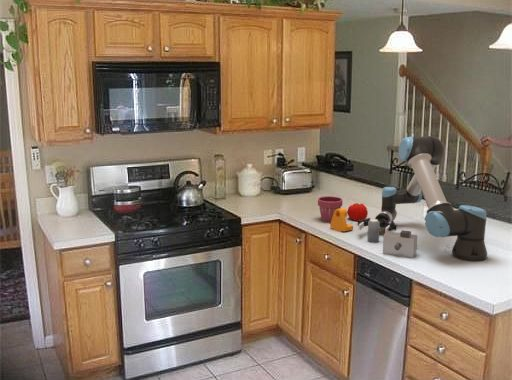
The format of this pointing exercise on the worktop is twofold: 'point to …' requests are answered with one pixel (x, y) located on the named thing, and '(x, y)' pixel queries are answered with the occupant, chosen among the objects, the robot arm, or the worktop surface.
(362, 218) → the tomato
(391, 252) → the grey toy camera
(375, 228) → the grey cylinder
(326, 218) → the plant pot
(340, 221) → the bracket
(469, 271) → the worktop surface
